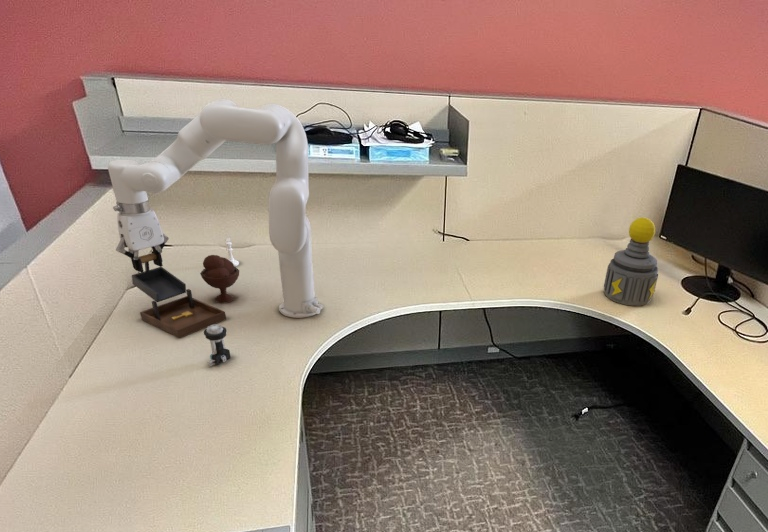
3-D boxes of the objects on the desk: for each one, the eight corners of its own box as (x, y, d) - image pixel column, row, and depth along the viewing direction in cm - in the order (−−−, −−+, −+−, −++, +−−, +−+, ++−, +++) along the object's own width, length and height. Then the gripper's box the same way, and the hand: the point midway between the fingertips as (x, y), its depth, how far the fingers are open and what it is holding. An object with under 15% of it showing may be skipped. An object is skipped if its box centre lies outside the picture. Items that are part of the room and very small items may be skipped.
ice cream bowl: (230, 308, 175) (223, 263, 167) (198, 302, 176) (189, 257, 169) (250, 295, 184) (243, 252, 176) (219, 289, 185) (211, 246, 178)
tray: (226, 319, 169) (222, 299, 166) (179, 338, 158) (174, 317, 154) (189, 302, 176) (185, 283, 173) (141, 320, 164) (136, 299, 161)
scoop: (186, 292, 169) (185, 268, 164) (157, 302, 162) (155, 277, 157) (160, 273, 172) (158, 249, 167) (131, 282, 165) (128, 258, 160)
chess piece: (241, 264, 204) (237, 238, 199) (228, 267, 201) (223, 240, 196) (235, 260, 207) (231, 234, 202) (221, 263, 204) (217, 236, 199)
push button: (217, 370, 146) (210, 336, 141) (201, 365, 147) (194, 331, 142) (236, 358, 151) (230, 325, 146) (220, 353, 153) (213, 321, 148)
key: (192, 313, 169) (192, 314, 169) (187, 311, 169) (188, 312, 170) (175, 319, 164) (175, 320, 164) (170, 317, 165) (170, 318, 165)
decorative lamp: (592, 293, 211) (607, 215, 195) (619, 282, 223) (635, 207, 208) (635, 311, 200) (655, 230, 185) (661, 298, 213) (681, 221, 197)
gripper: (110, 216, 148) (127, 280, 157) (171, 203, 161) (184, 263, 170) (94, 210, 151) (111, 273, 160) (155, 198, 164) (168, 257, 173)
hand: (148, 267), depth 165 cm, fingers closed on scoop, 5 cm apart
